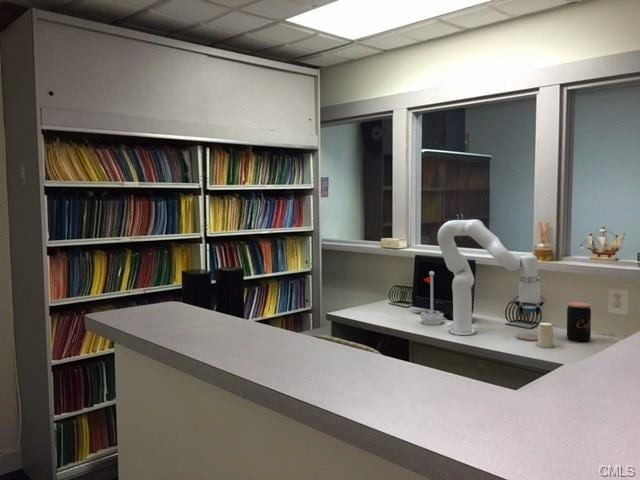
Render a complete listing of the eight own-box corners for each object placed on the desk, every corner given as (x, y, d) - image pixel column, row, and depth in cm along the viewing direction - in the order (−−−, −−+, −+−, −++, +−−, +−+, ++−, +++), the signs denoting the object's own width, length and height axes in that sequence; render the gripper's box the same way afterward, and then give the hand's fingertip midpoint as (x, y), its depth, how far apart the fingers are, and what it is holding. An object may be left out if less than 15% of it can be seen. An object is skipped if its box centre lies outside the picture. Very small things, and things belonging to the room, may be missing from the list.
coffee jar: (577, 343, 260) (578, 306, 259) (561, 338, 270) (562, 302, 269) (595, 341, 263) (596, 305, 262) (579, 336, 273) (579, 301, 272)
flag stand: (446, 321, 313) (445, 270, 311) (440, 326, 302) (439, 273, 300) (424, 319, 319) (423, 269, 317) (417, 324, 308) (417, 272, 306)
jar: (536, 346, 256) (536, 324, 256) (538, 343, 262) (539, 321, 261) (551, 348, 253) (551, 326, 252) (553, 344, 259) (553, 323, 258)
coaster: (514, 338, 271) (514, 337, 271) (521, 334, 280) (521, 333, 280) (536, 341, 265) (536, 340, 264) (543, 337, 273) (543, 336, 273)
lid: (531, 313, 266) (531, 309, 266) (519, 311, 272) (519, 307, 272) (539, 310, 270) (539, 307, 270) (527, 309, 276) (527, 305, 276)
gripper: (547, 279, 271) (547, 313, 272) (510, 278, 276) (511, 312, 278) (548, 281, 264) (548, 317, 265) (510, 280, 269) (511, 315, 271)
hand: (529, 314), depth 271 cm, fingers closed on lid, 6 cm apart
